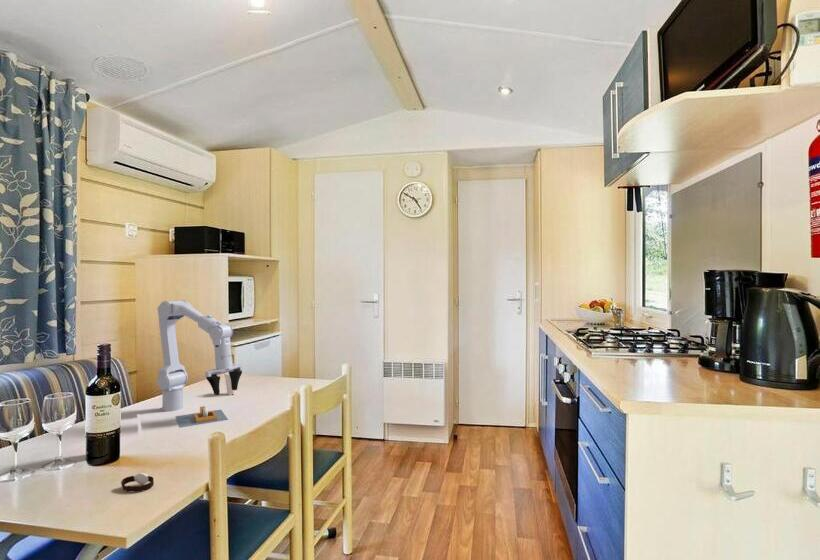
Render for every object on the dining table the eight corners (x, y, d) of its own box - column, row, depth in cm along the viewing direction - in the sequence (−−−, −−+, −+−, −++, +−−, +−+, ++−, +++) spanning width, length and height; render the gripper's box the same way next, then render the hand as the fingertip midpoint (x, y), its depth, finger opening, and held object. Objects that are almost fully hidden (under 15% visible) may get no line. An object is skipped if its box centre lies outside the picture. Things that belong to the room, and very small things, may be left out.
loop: (217, 419, 160) (217, 413, 160) (196, 423, 156) (196, 416, 156) (211, 411, 170) (211, 405, 170) (191, 414, 166) (192, 407, 166)
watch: (158, 484, 112) (158, 470, 112) (146, 493, 107) (146, 478, 107) (128, 484, 112) (128, 469, 112) (115, 493, 107) (115, 478, 107)
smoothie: (233, 396, 196) (233, 365, 196) (221, 395, 197) (221, 364, 197) (242, 392, 202) (242, 362, 202) (229, 392, 204) (229, 362, 204)
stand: (175, 418, 164) (175, 405, 164) (221, 412, 173) (221, 399, 173) (179, 430, 151) (179, 416, 151) (228, 422, 160) (228, 408, 160)
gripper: (212, 359, 157) (215, 397, 156) (246, 353, 169) (248, 388, 169) (200, 359, 160) (203, 396, 160) (234, 353, 173) (237, 387, 172)
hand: (225, 392), depth 164 cm, fingers open, 7 cm apart
